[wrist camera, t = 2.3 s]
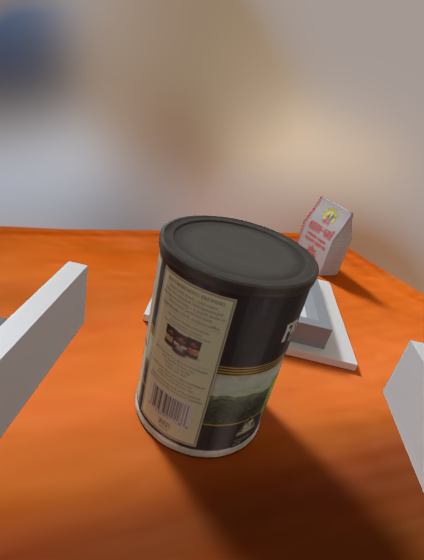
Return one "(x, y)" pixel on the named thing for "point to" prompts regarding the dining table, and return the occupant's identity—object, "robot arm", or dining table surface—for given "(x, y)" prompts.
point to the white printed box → (327, 235)
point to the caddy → (318, 330)
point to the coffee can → (218, 331)
